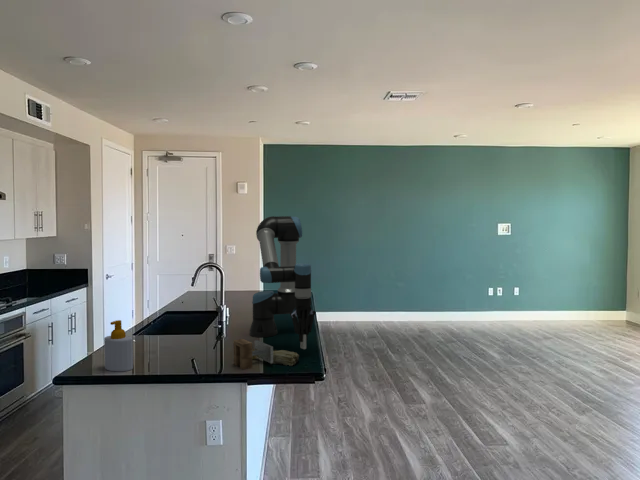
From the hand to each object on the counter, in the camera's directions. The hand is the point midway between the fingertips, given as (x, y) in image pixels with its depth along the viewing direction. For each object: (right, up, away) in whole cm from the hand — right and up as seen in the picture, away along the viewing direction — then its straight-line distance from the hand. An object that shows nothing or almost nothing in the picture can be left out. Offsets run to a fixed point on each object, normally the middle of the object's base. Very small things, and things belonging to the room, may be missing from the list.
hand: (303, 348), depth 209 cm
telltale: (-22, -4, -5) cm, 23 cm away
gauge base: (-23, -4, -10) cm, 26 cm away
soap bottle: (-77, -5, -16) cm, 79 cm away
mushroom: (-9, -5, -9) cm, 13 cm away
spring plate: (-21, -3, -12) cm, 24 cm away
